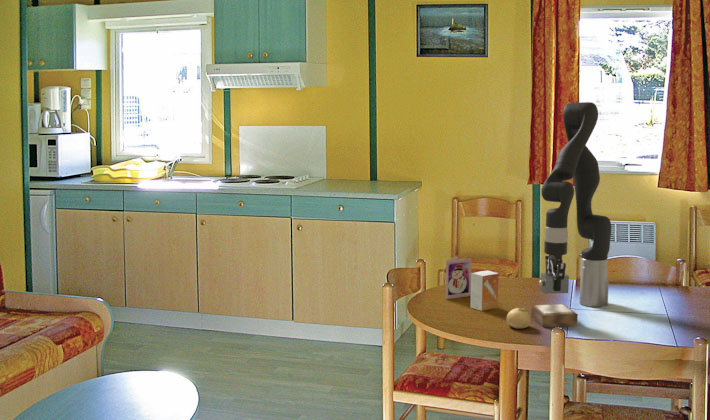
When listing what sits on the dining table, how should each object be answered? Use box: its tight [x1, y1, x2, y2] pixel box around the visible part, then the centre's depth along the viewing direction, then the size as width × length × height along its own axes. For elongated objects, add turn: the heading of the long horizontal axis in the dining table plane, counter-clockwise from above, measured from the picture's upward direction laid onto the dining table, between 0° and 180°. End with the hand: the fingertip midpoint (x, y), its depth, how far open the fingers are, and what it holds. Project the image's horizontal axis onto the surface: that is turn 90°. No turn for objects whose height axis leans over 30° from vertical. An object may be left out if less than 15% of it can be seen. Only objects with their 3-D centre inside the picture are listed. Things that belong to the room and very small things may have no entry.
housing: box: [538, 272, 570, 295], centre depth 272 cm, size 9×5×6 cm, turn 96°
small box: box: [470, 269, 500, 312], centre depth 291 cm, size 8×6×13 cm
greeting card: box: [445, 255, 472, 300], centre depth 308 cm, size 11×7×15 cm, turn 115°
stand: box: [530, 303, 578, 328], centre depth 274 cm, size 12×12×4 cm
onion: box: [505, 306, 532, 330], centre depth 268 cm, size 8×8×7 cm
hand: (554, 288), depth 273 cm, fingers closed on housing, 5 cm apart
